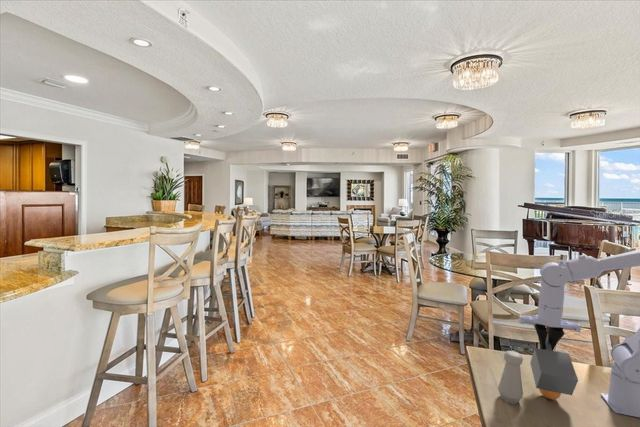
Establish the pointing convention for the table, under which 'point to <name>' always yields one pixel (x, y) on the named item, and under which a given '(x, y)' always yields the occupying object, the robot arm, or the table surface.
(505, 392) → the salt shaker
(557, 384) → the grey block with fin
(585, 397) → the table surface
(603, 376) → the table surface
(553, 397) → the ball
